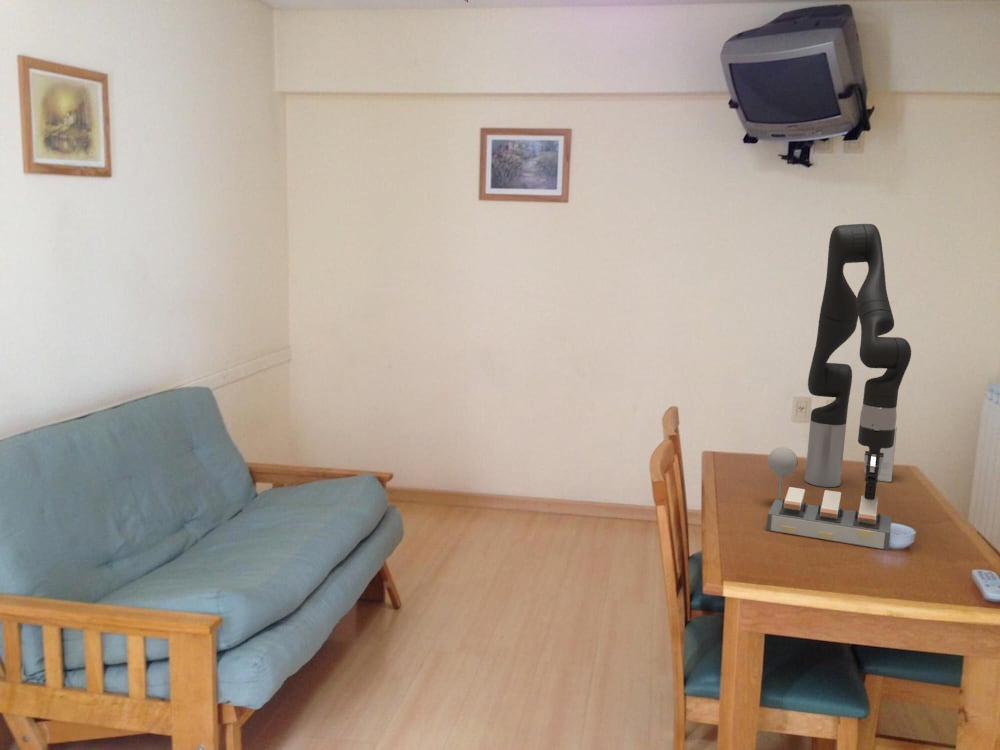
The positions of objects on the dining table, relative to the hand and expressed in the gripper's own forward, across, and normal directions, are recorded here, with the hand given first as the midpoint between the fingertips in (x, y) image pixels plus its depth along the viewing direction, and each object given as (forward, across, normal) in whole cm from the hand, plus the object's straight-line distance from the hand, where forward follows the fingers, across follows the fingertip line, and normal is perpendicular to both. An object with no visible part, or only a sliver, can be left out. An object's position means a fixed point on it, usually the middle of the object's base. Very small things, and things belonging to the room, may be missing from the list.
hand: (869, 498), depth 207 cm
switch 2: (+2, +3, -8) cm, 9 cm away
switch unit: (+8, +3, -8) cm, 12 cm away
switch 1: (+2, +3, -16) cm, 17 cm away
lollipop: (+9, -12, -21) cm, 25 cm away
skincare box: (+9, -53, +1) cm, 53 cm away
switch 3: (+2, +3, 0) cm, 4 cm away
